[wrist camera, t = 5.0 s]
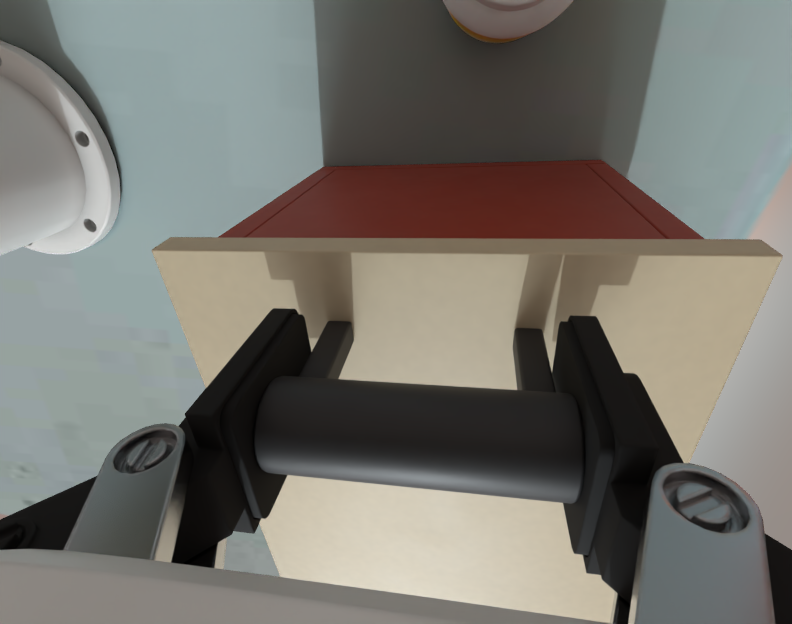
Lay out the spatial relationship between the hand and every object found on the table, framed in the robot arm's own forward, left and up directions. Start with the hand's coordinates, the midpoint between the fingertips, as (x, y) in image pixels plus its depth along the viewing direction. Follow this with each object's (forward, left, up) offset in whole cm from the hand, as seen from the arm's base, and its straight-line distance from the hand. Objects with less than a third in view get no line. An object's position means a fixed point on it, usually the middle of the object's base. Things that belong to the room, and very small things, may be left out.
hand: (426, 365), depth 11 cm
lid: (+5, -4, -2) cm, 7 cm away
